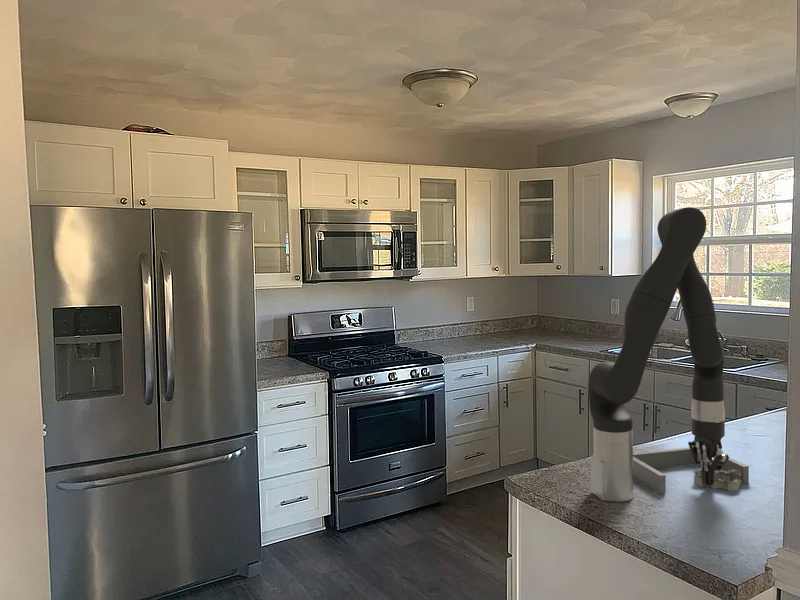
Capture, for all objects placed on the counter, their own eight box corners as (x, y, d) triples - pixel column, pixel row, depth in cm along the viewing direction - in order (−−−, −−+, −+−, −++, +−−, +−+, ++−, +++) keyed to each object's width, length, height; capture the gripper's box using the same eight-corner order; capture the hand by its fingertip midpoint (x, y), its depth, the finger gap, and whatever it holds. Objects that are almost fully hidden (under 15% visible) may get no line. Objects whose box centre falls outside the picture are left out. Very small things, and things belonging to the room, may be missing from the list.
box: (660, 493, 155) (660, 475, 155) (623, 469, 172) (623, 454, 172) (748, 483, 159) (748, 466, 159) (703, 461, 177) (703, 445, 176)
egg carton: (743, 485, 159) (743, 470, 159) (736, 495, 153) (737, 479, 153) (698, 477, 166) (698, 462, 166) (690, 485, 160) (690, 470, 160)
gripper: (678, 411, 161) (678, 476, 162) (711, 424, 148) (711, 495, 149) (704, 409, 162) (704, 473, 163) (739, 422, 149) (739, 492, 150)
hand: (707, 484), depth 156 cm, fingers closed
